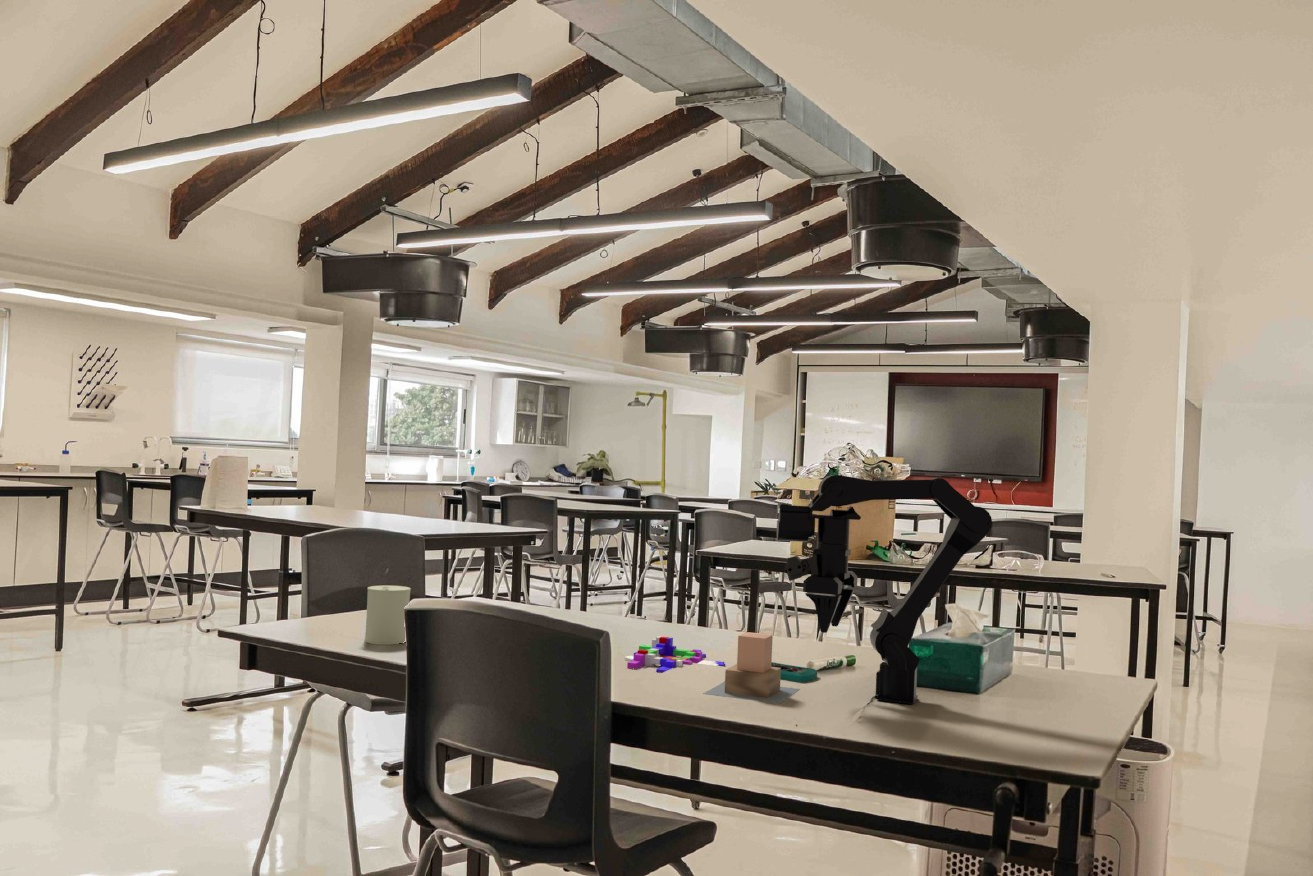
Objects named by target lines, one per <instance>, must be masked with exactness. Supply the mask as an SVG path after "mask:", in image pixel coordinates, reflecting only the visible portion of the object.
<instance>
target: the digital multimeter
mask: <svg viewBox="0 0 1313 876" xmlns="http://www.w3.org/2000/svg"><path fill="white" fill-rule="evenodd" d="M771 667H778V668H781V678H780V680H783V681H790V682H795V683H807V682H812V681H814V680H816V679H817V678H818V670H816V669H815V668H812V667H811V668H810V667H805V666H798V665H797V666H796V665H792V664H791V665H789V664H784V663H779V662H778V663H777V662H773V661H772V663H771Z"/></svg>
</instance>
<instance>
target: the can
mask: <svg viewBox="0 0 1313 876" xmlns="http://www.w3.org/2000/svg"><path fill="white" fill-rule="evenodd" d="M366 590H367V597H366V598H367V599H366V604H367V605H366V618H365V619H366V621H365V633H364V634H365V635H364V640H363V641H364V642H365V643H366V644H370V645H378V646H379V645H380V646H383V645H384V646H392V645H393V644H396V645H400V644H399V643H403V642H404V641H405V627H404V607H405V606H406V605H407V604H408V603H409V602H410V600H411V590H412V588H411V587H410V586H409V587H408V586H403V585H383V584H382V585H372V586H368V587H367V589H366ZM409 604H410V603H409ZM403 644H404V643H403Z"/></svg>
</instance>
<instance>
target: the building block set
mask: <svg viewBox="0 0 1313 876" xmlns="http://www.w3.org/2000/svg"><path fill="white" fill-rule="evenodd" d="M673 640H674V637H669V636H660V635H659V636H658V635H657V636H656V637H655V638H652V639H651V645H647V644H641V645H638V650H637V651H635V652H633V655H627V656H624V660H625V659H626V660H625V661H627V660H628V661H627V666H626V667H627V669H630V668H637V669H639V668H642V667H645V665H646V667H654V666H656V665H658V666H660V667H658V668H656V669H655V670H656V672H655V673H666V672H667V671H670V670H672V669H675V668H677V667H679V668H680V667H682V666H683V665H691V664H699V665H700V664H701V665H708V666H715V667H716V666H717V667H723V668H725V667H726V663H725V661H720V660H719V661H718V660H715V661H714V660H705V659H704V658H705V657H706V656H707V654H706V653H703V651H702V649H692V650H689V649H687V648H686V649H684V648H677V645H673V643H674V641H673ZM703 659H704V660H703ZM629 661H630V662H629Z"/></svg>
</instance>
